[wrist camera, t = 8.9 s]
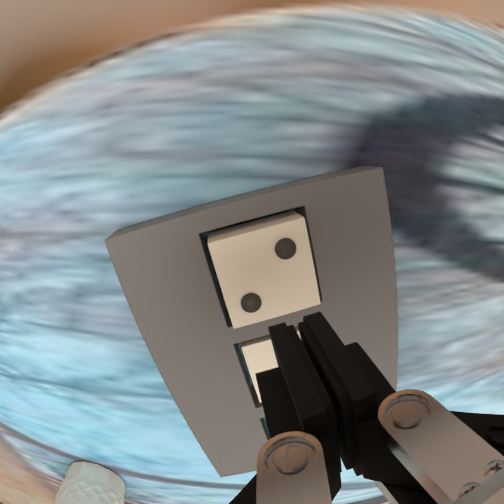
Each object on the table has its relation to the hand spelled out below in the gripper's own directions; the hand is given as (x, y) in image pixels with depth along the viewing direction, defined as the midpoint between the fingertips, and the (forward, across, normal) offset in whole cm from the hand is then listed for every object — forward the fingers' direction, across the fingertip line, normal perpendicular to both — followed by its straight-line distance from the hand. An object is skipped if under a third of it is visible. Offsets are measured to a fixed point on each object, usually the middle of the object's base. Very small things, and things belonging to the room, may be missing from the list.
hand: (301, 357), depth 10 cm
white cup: (+11, +23, +20) cm, 32 cm away
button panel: (+11, 0, +7) cm, 13 cm away
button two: (+9, 0, 0) cm, 10 cm away
